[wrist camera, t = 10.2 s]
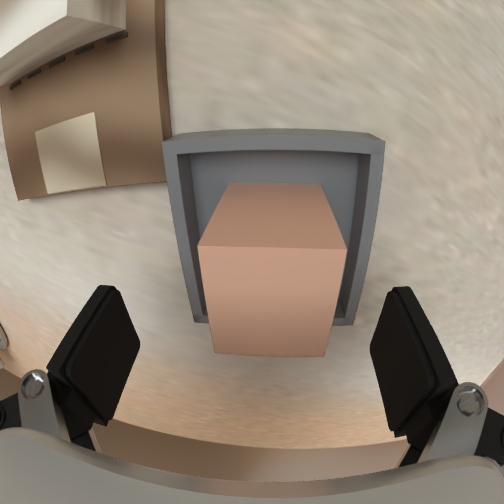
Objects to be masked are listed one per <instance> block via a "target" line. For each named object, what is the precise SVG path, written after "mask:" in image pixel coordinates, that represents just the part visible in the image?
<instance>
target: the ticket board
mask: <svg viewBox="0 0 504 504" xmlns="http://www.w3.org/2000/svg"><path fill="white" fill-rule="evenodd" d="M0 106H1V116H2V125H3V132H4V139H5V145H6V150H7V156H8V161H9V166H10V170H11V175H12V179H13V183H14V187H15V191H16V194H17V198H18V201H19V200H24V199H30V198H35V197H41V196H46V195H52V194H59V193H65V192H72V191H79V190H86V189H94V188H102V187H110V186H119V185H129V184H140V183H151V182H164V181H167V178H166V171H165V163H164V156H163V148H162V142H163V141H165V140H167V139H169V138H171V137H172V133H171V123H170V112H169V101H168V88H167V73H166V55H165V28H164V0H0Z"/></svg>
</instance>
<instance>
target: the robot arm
mask: <svg viewBox="0 0 504 504" xmlns="http://www.w3.org/2000/svg"><path fill="white" fill-rule="evenodd" d="M6 346H7V338H6V335H5V333H4V331H3V329H2V328H1V326H0V350H4V349H5V348H6ZM139 349H140V340H139V338H138V335H137V333H136V331H135V328H134V326H133V324H132V321H131V319H130V316H129V314H128V311H127V309H126V306H125V304H124V301H123V299H122V296H121V293H120V291H119V290H117V289H116V288H115V287H114V286H108V285H100V286H98V287H97V289H96V290H95V291H94V293H93V294H92V296H91V297H90V299H89V300H88V301H87V303H86V304H85V306H84V307H83V309H82V310H81V312H80V313H79V315H78V316H77V318H76V319H75V321H74V322H73V324H72V325H71V327H70V329H69V330H68V332H67V333H66V335H65V336H64V338H63V340H62V341H61V343H60V345H59V346H58V348H57V350H56V351H55V353H54V355H53V356H52V358H51V360H50V361H49V363H48V365H47V367H46V368H47V369H48V373H47V374H46V373H45V372H44V371H42V370H38V369H35V370H31V371H30V372H28V373H26V374H25V375H24V376H23V377H22V379H21V380H20V382H19V386H18V393H16V394H14V395H12V396H10V397H8V398H6V399H4V400H2V401H0V504H504V416H503V415H501V414H499V413H497V412H496V411H494V410H492V409H490V408H488V399H487V396H486V394H485V392H484V390H483V389H482V388H481V387H480V386H478V385H477V384H475V383H471V382H464V383H462V384H460V385H459V384H458V382H457V379H456V377H455V374H454V372H453V370H452V368H451V365H450V363H449V361H448V359H447V356H446V354H445V352H444V350H443V348H442V346H441V344H440V342H439V339H438V337H437V335H436V333H435V331H434V329H433V327H432V326H431V324H430V322H429V320H428V319H427V317H426V315H425V313H424V311H423V309H422V307H421V305H420V304H419V302H418V300H417V298H416V296H415V295H414V293H413V291H412V289H411V288H410V287H408V286H405V287H393V289H392V291H390V292H388V293H387V296H386V299H385V302H384V305H383V309H382V312H381V315H380V318H379V321H378V324H377V327H376V329H375V332H374V335H373V338H372V341H371V343H370V354H371V358H372V361H373V365H374V369H375V372H376V376H377V380H378V384H379V388H380V392H381V396H382V400H383V404H384V408H385V413H386V417H387V422H388V426H389V429H390V431H394V435H395V438H396V437H400V436H405V435H406V436H407V440H408V445H407V446H406V448H405V450H404V452H403V454H402V455H401V457H400V459H399V461H398V462H397V464H396V466H395V467H394V469H390V470H386V471H381V472H376V473H369V474H364V475H357V476H351V477H344V478H336V479H328V480H316V481H301V482H300V481H299V482H249V481H232V480H221V479H211V478H203V477H196V476H190V475H183V474H178V473H173V472H168V471H162V470H158V469H153V468H149V467H145V466H141V465H137V464H133V463H130V462H126V461H123V460H119V459H116V458H113V457H110V456H107V455H104V454H102V452H101V450H100V447H99V445H98V442H97V440H96V437H95V434H94V432H93V429H92V425H93V423H94V422H95V423H97V424H100V425H104V426H107V424H108V421H109V420H111V419H112V418H113V416H114V413H115V411H116V408H117V405H118V402H119V400H120V397H121V394H122V392H123V389H124V387H125V384H126V381H127V379H128V376H129V374H130V371H131V369H132V366H133V364H134V361H135V359H136V356H137V354H138V351H139ZM4 365H5V364H4V362H3V361H2V360H1V359H0V369H2V368H3V367H4Z"/></svg>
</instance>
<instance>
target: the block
mask: <svg viewBox="0 0 504 504" xmlns="http://www.w3.org/2000/svg"><path fill="white" fill-rule="evenodd" d="M197 247H198V254H199V261H200V268H201V275H202V282H203V288H204V294H205V300H206V307H207V312H208V318H209V324H210V330H211V335H212V341H213V346H214V351H215V353H223V354H237V355H254V356H281V357H324V354H325V351H326V347H327V343H328V339H329V335H330V331H331V327H332V322H333V318H334V314H335V309H336V305H337V300H338V295H339V291H340V286H341V281H342V276H343V270H344V265H345V259H346V254H347V248H346V245H345V243H344V240H343V237H342V235H341V232H340V230H339V227H338V225H337V222H336V220H335V217H334V215H333V212H332V210H331V208H330V205H329V203H328V201H327V198H326V196H325V194H324V191H323V189H322V187H321V185H316V184H288V183H229V184H228V186H227V188H226V189H225V191H224V193H223V195H222V197H221V199H220V201H219V203H218V205H217V207H216V209H215V211H214V213H213V215H212V217H211V219H210V221H209V223H208V225H207V227H206V229H205V231H204V233H203V235H202V237H201V239H200V241H199V243H198V245H197Z"/></svg>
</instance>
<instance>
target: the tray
mask: <svg viewBox="0 0 504 504" xmlns="http://www.w3.org/2000/svg"><path fill="white" fill-rule="evenodd" d="M162 148H163V156H164V163H165V171H166V178H167V184H168V191H169V197H170V204H171V210H172V216H173V222H174V227H175V233H176V238H177V243H178V249H179V254H180V259H181V264H182V269H183V273H184V278H185V283H186V287H187V292H188V296H189V301H190V305H191V309H192V314H193V318H194V322H198V323H209V318H208V312H207V307H206V300H205V294H204V288H203V282H202V275H201V268H200V261H199V254H198V247H197V245H198V243H199V241H200V239H201V237H202V235H203V233H204V231H205V229H206V227H207V225H208V223H209V221H210V219H211V217H212V215H213V213H214V211H215V209H216V207H217V205H218V203H219V201H220V199H221V197H222V195H223V193H224V191H225V189H226V188H227V186H228V184H229V183H288V184H316V185H321V187H322V189H323V191H324V194H325V196H326V198H327V201H328V203H329V205H330V208H331V210H332V212H333V215H334V217H335V220H336V222H337V225H338V227H339V230H340V232H341V235H342V237H343V240H344V243H345V245H346V248H347V254H346V259H345V265H344V270H343V276H342V281H341V286H340V291H339V295H338V300H337V305H336V309H335V314H334V318H333V322H332V326H344V325H353V323H354V319H355V316H356V312H357V308H358V304H359V300H360V296H361V292H362V288H363V283H364V279H365V275H366V270H367V265H368V261H369V256H370V251H371V246H372V240H373V235H374V229H375V223H376V217H377V210H378V204H379V196H380V189H381V181H382V172H383V162H384V151H385V141H383V140H381V139H379V138H377V137H375V136H373V135H371V134H369V133H361V132H350V131H336V130H318V129H236V130H218V131H204V132H193V133H183V134H178V135H176V136H173V137H171V138H169V139H167V140H165V141H163V142H162Z"/></svg>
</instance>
